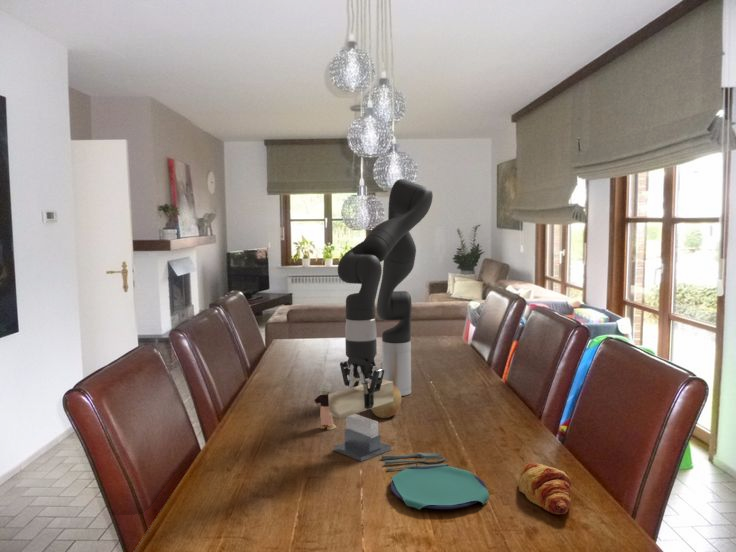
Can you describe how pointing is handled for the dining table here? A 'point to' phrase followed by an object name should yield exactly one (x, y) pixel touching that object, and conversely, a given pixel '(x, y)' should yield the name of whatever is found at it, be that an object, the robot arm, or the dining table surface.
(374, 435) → the ridge stand
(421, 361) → the dining table surface
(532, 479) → the croissant
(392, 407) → the bread roll
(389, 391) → the birch bar
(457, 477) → the cutlery set
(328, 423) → the grandmother figurine
